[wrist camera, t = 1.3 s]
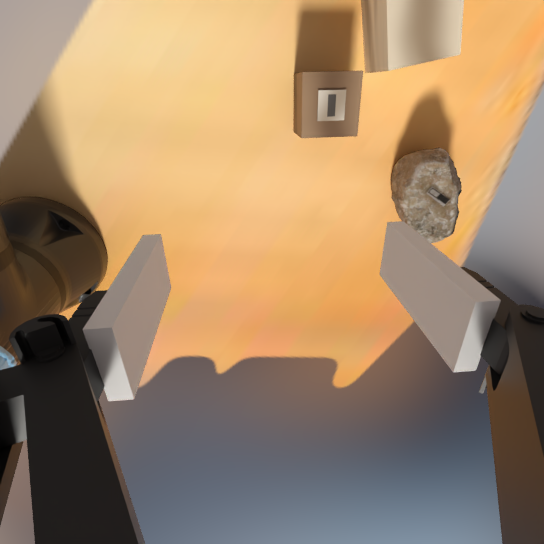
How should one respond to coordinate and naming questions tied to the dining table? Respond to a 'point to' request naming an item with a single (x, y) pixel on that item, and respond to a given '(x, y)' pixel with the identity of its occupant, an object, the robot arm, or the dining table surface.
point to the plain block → (409, 32)
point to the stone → (427, 193)
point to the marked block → (327, 103)
